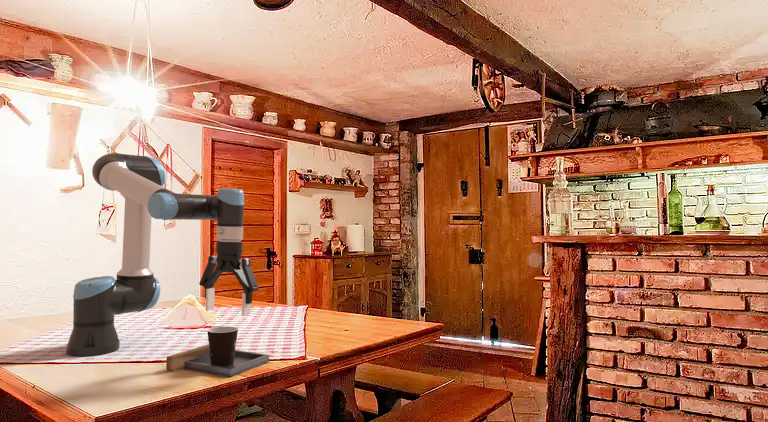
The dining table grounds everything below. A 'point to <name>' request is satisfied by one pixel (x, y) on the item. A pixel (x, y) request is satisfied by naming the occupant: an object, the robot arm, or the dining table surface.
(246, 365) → the tray
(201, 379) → the dining table surface
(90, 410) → the dining table surface
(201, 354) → the brown long thin block
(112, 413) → the dining table surface
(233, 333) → the coffee mug
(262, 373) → the dining table surface
